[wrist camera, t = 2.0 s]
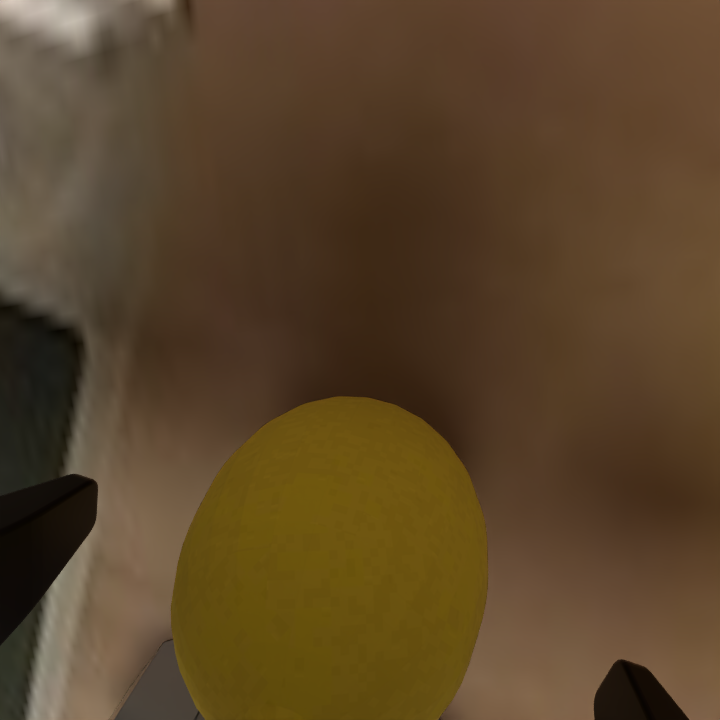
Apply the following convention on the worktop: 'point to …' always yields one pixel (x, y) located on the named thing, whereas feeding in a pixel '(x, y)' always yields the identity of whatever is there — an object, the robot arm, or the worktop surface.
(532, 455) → the worktop surface
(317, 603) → the lemon
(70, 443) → the worktop surface
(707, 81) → the worktop surface
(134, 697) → the bowl
